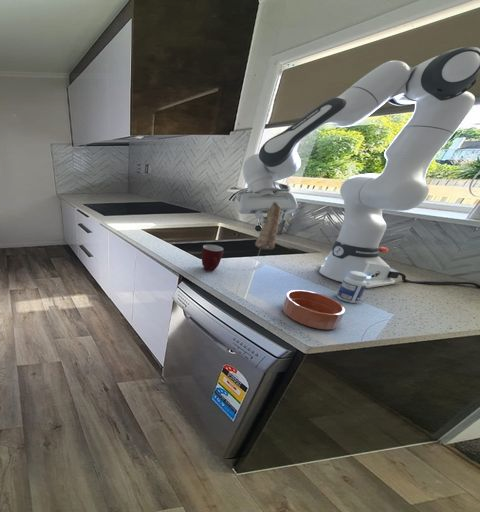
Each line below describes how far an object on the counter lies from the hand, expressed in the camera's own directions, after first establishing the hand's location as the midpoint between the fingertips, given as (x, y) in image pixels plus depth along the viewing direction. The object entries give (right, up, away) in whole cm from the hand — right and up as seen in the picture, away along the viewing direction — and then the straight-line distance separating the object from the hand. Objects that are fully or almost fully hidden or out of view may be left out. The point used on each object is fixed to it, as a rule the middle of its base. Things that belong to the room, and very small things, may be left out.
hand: (271, 222), depth 89 cm
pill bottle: (+21, -27, -7) cm, 35 cm away
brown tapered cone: (0, -9, +5) cm, 10 cm away
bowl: (0, -31, -16) cm, 35 cm away
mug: (-16, -19, +15) cm, 29 cm away
